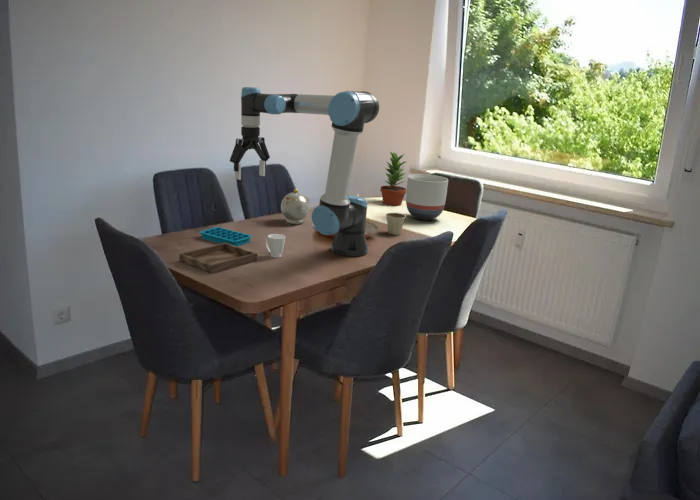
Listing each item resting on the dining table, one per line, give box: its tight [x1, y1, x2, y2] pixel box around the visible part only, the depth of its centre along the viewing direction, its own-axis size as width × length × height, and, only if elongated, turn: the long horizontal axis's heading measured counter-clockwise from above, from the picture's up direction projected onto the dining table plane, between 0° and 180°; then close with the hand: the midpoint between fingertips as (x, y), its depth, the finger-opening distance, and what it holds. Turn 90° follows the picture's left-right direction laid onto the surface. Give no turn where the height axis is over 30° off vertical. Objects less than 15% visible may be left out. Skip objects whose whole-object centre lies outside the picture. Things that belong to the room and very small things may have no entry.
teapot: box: [280, 188, 311, 226], centre depth 283 cm, size 18×14×16 cm
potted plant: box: [380, 150, 407, 207], centre depth 332 cm, size 15×15×30 cm
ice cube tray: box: [199, 226, 253, 247], centre depth 250 cm, size 12×20×3 cm, turn 59°
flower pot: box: [385, 212, 407, 236], centre depth 276 cm, size 9×9×9 cm
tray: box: [178, 243, 258, 275], centre depth 223 cm, size 18×22×3 cm
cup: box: [264, 233, 287, 259], centre depth 234 cm, size 7×10×8 cm
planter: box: [405, 173, 449, 221], centre depth 304 cm, size 20×20×21 cm
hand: (250, 177), depth 251 cm, fingers open, 13 cm apart
